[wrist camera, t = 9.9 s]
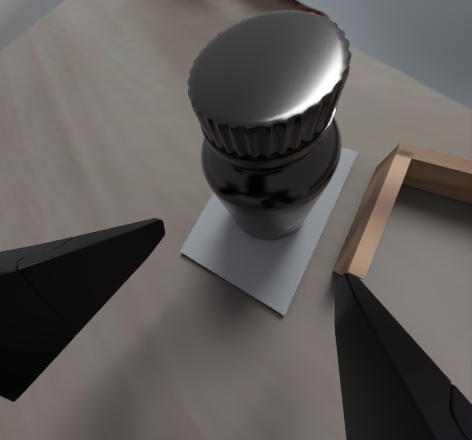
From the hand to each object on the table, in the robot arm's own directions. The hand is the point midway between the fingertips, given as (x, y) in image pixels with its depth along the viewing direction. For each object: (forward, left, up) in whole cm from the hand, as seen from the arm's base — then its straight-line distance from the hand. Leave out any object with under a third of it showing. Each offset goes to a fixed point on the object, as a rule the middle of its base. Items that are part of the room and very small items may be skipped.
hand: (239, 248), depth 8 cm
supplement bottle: (+5, +1, -8) cm, 9 cm away
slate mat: (+5, +1, -8) cm, 9 cm away
